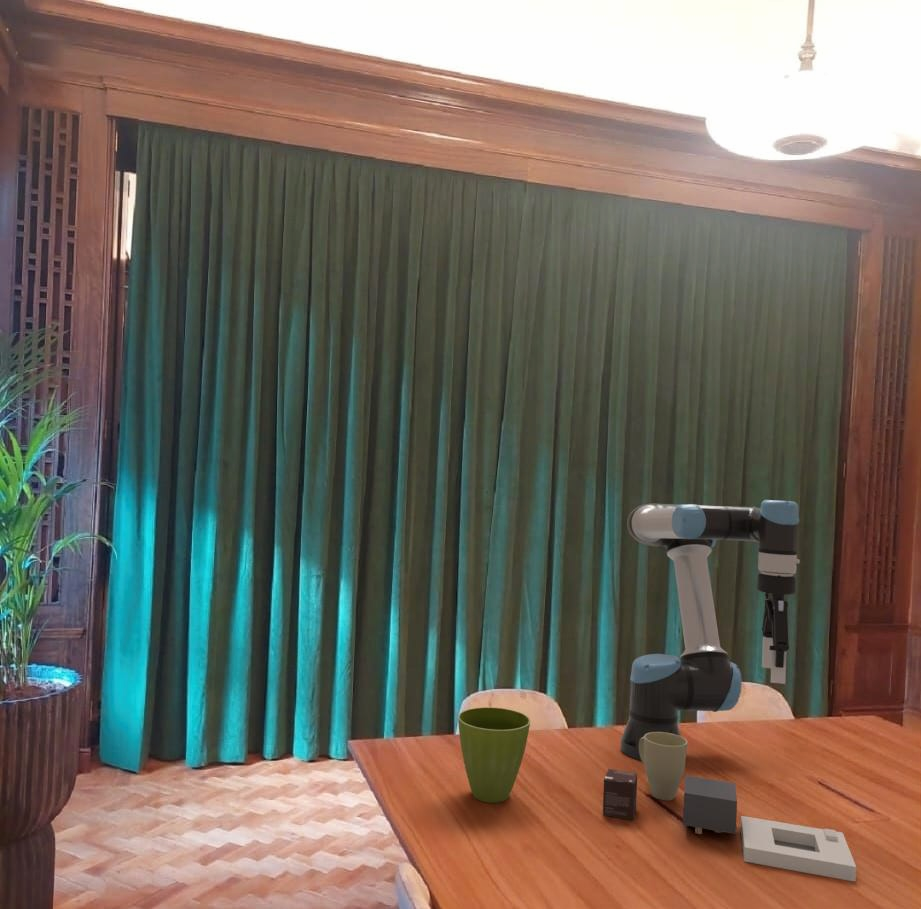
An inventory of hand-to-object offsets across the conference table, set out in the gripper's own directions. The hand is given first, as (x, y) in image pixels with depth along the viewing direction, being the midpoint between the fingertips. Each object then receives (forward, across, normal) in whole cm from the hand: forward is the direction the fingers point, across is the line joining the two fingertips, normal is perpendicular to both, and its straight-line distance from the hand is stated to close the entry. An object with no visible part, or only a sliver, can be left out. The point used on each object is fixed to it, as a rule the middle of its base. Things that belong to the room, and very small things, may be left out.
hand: (772, 675), depth 167 cm
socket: (+27, -21, -2) cm, 35 cm away
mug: (+27, -2, +22) cm, 35 cm away
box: (+28, -14, +30) cm, 43 cm away
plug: (+27, -16, +13) cm, 34 cm away
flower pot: (+27, -16, +56) cm, 64 cm away
